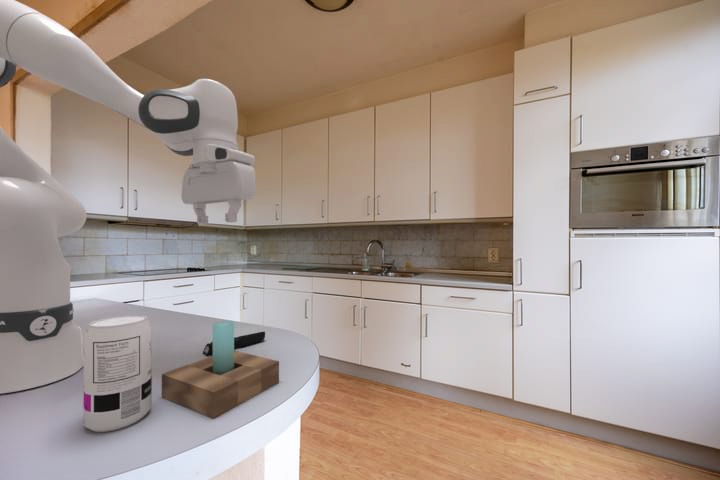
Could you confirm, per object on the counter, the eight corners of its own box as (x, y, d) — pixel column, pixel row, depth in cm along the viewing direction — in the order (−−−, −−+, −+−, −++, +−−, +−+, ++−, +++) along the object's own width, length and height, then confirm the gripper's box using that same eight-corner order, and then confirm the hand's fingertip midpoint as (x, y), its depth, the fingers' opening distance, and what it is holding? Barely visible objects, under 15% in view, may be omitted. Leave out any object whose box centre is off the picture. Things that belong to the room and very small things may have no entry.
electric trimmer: (268, 343, 84) (268, 332, 84) (207, 358, 73) (207, 344, 73) (261, 340, 87) (261, 329, 87) (202, 354, 76) (202, 341, 76)
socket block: (161, 397, 54) (161, 374, 54) (230, 368, 66) (230, 349, 66) (213, 418, 47) (213, 392, 47) (279, 382, 60) (278, 361, 60)
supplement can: (68, 431, 44) (68, 326, 44) (122, 402, 52) (122, 313, 53) (116, 437, 43) (116, 328, 43) (164, 406, 51) (163, 315, 51)
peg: (208, 390, 56) (208, 324, 56) (225, 383, 59) (225, 320, 60) (221, 395, 55) (221, 327, 55) (238, 387, 58) (238, 322, 58)
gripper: (173, 162, 70) (173, 224, 69) (235, 148, 60) (236, 220, 60) (199, 168, 75) (199, 225, 75) (260, 156, 65) (261, 221, 65)
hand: (216, 223), depth 67 cm, fingers open, 8 cm apart
